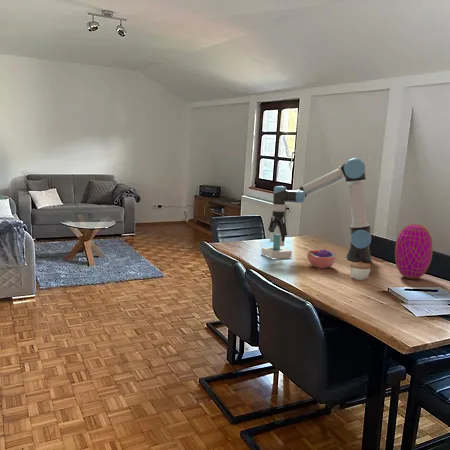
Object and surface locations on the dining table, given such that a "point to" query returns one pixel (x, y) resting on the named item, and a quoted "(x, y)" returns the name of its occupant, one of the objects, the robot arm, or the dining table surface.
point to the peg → (276, 242)
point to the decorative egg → (413, 251)
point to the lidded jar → (360, 270)
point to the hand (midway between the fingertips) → (276, 244)
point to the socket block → (277, 252)
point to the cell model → (321, 258)
